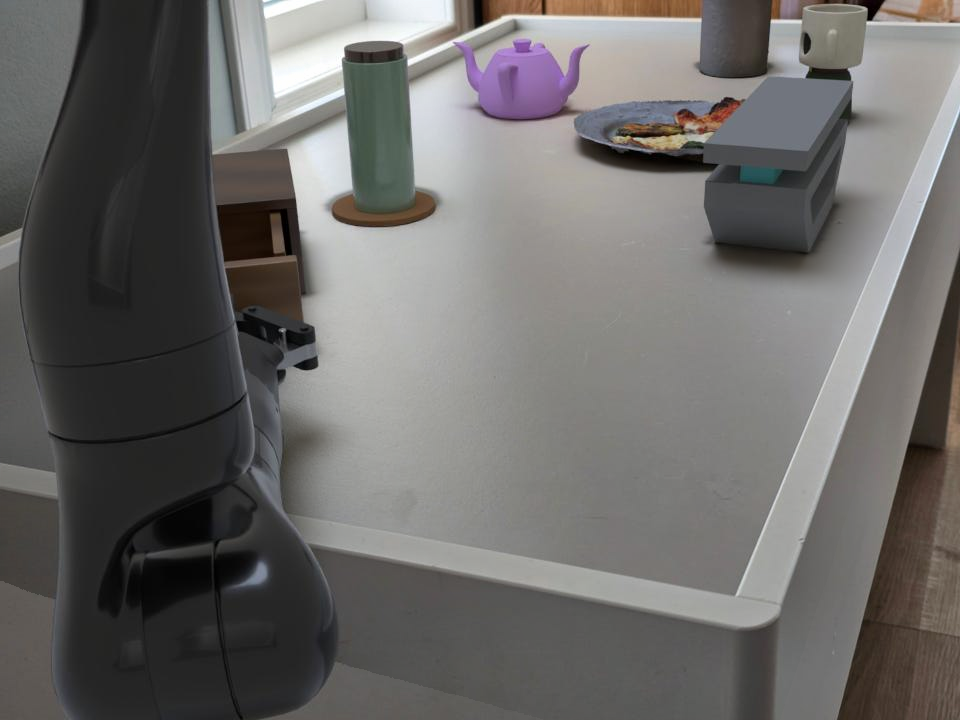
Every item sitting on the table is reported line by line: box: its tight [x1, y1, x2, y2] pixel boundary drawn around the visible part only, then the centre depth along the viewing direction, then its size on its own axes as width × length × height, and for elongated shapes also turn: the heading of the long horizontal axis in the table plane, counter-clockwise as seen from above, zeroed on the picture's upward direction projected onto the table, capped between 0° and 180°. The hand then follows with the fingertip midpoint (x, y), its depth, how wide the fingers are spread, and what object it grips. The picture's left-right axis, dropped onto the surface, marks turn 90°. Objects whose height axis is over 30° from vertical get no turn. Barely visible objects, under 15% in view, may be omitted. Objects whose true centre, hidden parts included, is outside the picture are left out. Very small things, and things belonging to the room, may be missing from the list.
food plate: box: [573, 96, 747, 157], centre depth 127 cm, size 25×23×4 cm
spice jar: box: [341, 40, 416, 214], centre depth 106 cm, size 6×6×15 cm
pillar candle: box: [698, 0, 773, 78], centre depth 158 cm, size 10×10×15 cm
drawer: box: [218, 209, 305, 337], centre depth 80 cm, size 18×11×7 cm, turn 11°
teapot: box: [452, 38, 591, 120], centre depth 142 cm, size 12×14×9 cm
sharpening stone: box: [702, 75, 854, 254], centre depth 98 cm, size 25×8×11 cm, turn 156°
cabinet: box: [212, 148, 307, 296], centre depth 93 cm, size 15×13×9 cm
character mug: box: [798, 3, 869, 120], centre depth 131 cm, size 11×7×13 cm, turn 163°
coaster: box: [331, 190, 436, 228], centre depth 109 cm, size 10×10×1 cm
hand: (212, 301), depth 73 cm, fingers closed
